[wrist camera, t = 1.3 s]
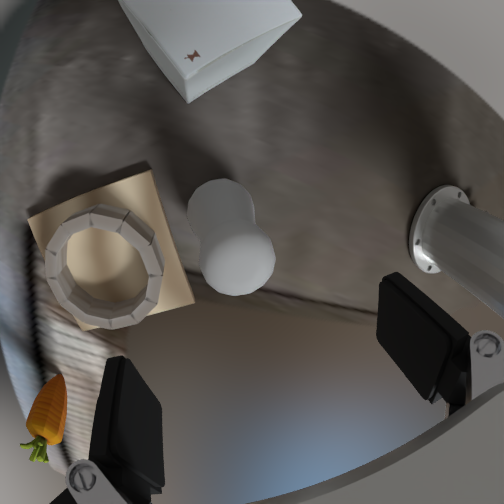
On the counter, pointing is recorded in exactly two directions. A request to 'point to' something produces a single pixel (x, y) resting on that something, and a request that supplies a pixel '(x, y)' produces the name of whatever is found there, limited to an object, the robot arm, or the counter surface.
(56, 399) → the carrot
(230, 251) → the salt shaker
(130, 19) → the supplement box
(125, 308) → the ring holder
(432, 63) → the counter surface
